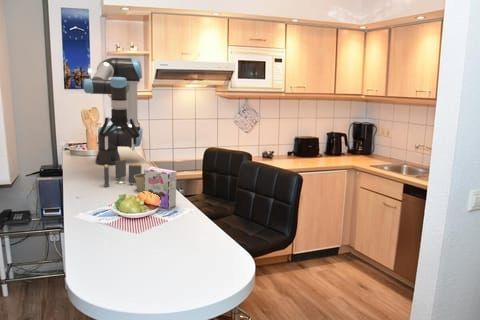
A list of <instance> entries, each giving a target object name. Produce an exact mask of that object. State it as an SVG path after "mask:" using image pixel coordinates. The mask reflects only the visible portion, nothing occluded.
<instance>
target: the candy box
mask: <svg viewBox="0 0 480 320" xmlns="http://www.w3.org/2000/svg"><path fill="white" fill-rule="evenodd" d="M143 171H144V172H143V174H144V191H148V192H151V193H153V194H156V195H158V196H159V197H160V200H161V203H160V207H162V208H161V209H165V210H170V209H174V208H176V206H177V203H176V202H177V170H170V169H165V168H160V167H156V166H149V167H146V168H144V170H143ZM160 207H159V208H160Z"/></svg>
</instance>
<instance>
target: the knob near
mask: <svg viewBox="0 0 480 320" xmlns="http://www.w3.org/2000/svg"><path fill="white" fill-rule="evenodd" d="M114 166H115V168H114V169H115V179H117V180H124V178H125V177H127V159H126V158H125V157H124V158H123V157H121V159H120V160H119V161H115V165H114Z"/></svg>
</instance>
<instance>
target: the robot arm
mask: <svg viewBox="0 0 480 320" xmlns="http://www.w3.org/2000/svg"><path fill="white" fill-rule="evenodd" d="M141 79H143V70H142V64H141V61H140V59H138V58H132V57H131V58H128V57H109V58H107V59H104V60H102V61H101V62H99V63H98V65H97V67H96V71H95V73H94V75H93V76H92V78H85V79H84V80H83V91H84V93H85V94H90V95H110V97H111V98H110V100H111V102H110V104H111V110H110V111H111V115H110V116H111V117H109V116H106V117H105V118H104V123H103V125H102V126H100V127H99V128H98V129H97V146H98V150H97V151H98V152H97V154H96V156H95V164H96V165H100V166H104V165H108V166H115V161H119V160H120V159H122V157H121V156H120V153H119V147H123V148H124V147H125V148H126V147H128V148H129V147H130V148H131V152H134V151H135V147H136V148H137V147H140V146H141V143H142V138H143V128H142V127H141V125H140V124H139V123H138V121H139V120H138V119H139V118H138V84H139V83H140V82H141ZM110 121H111V122H112V123H111V124H110V125H108V123H109V122H110Z"/></svg>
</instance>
